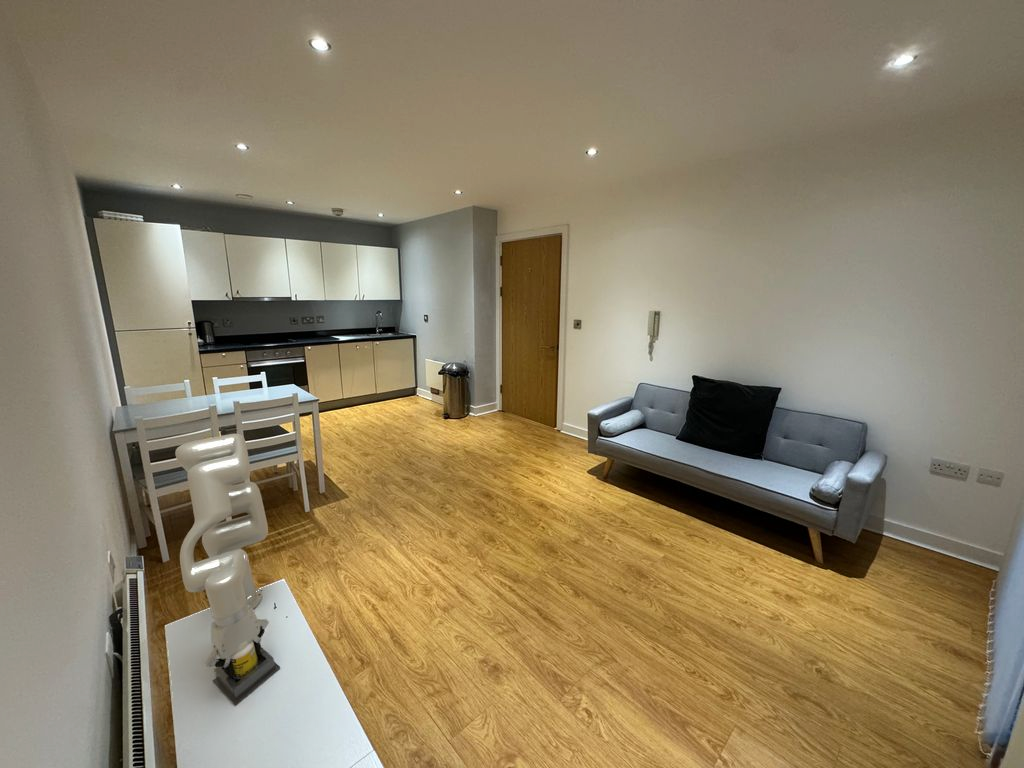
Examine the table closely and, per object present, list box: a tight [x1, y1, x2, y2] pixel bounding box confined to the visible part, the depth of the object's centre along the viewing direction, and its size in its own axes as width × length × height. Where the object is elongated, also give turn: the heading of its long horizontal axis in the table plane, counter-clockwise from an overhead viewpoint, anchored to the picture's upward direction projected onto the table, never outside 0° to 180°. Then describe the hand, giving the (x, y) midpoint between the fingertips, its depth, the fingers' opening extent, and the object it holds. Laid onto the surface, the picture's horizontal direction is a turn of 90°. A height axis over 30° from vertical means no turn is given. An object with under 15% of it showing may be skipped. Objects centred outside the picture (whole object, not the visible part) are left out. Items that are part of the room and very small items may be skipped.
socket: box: [211, 646, 281, 707], centre depth 113 cm, size 12×12×4 cm
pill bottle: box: [230, 640, 258, 679], centre depth 111 cm, size 6×6×11 cm
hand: (243, 662), depth 112 cm, fingers closed on pill bottle, 6 cm apart
